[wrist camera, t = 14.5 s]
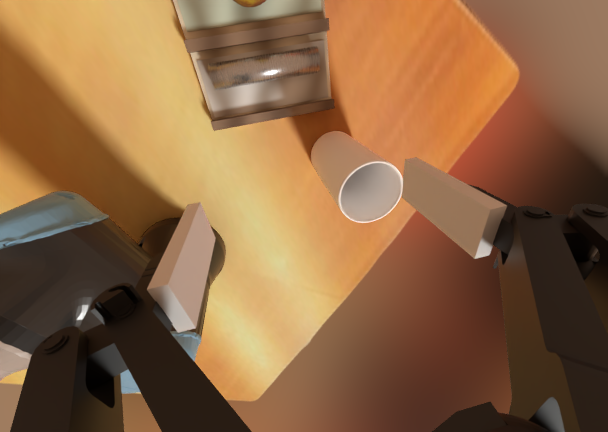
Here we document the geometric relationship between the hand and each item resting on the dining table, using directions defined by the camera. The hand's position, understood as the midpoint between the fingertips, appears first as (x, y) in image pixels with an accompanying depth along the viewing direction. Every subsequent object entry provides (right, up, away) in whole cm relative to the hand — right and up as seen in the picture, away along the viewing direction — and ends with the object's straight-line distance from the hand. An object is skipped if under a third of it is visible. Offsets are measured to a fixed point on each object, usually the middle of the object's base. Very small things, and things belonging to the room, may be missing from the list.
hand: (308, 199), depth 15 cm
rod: (-5, +18, +18) cm, 25 cm away
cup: (+5, +10, +27) cm, 29 cm away
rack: (-6, +23, +17) cm, 29 cm away
